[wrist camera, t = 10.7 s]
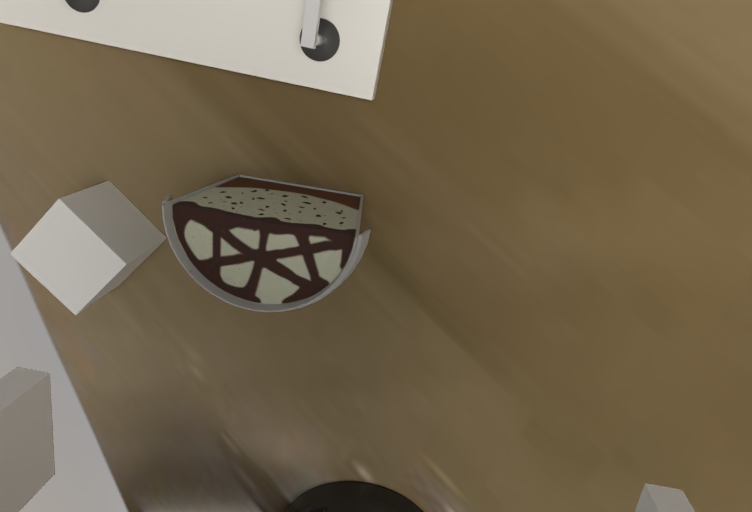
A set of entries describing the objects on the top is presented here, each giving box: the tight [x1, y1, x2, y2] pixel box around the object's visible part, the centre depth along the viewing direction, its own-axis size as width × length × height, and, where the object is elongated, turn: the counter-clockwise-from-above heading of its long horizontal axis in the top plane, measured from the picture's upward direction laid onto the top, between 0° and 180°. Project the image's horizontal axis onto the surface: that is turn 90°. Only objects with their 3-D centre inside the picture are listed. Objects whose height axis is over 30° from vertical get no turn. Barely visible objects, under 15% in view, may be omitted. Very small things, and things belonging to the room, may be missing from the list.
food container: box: [162, 174, 371, 312], centre depth 38 cm, size 12×6×10 cm, turn 82°
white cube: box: [10, 181, 167, 315], centre depth 42 cm, size 6×6×6 cm
